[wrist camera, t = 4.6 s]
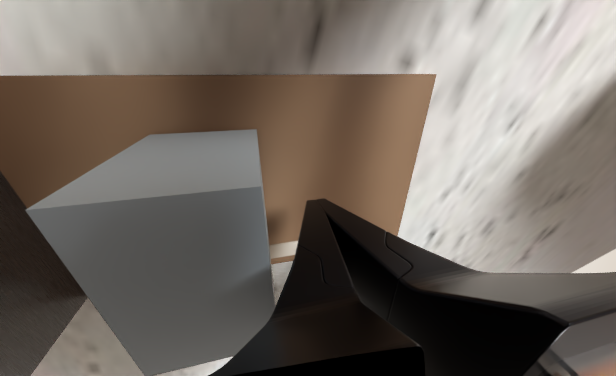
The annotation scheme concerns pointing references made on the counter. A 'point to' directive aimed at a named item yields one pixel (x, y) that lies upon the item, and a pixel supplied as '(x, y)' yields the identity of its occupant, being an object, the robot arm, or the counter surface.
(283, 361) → the robot arm
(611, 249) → the counter surface
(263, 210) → the pale grey rectangular block
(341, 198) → the gauge base
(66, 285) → the dark grey slab
